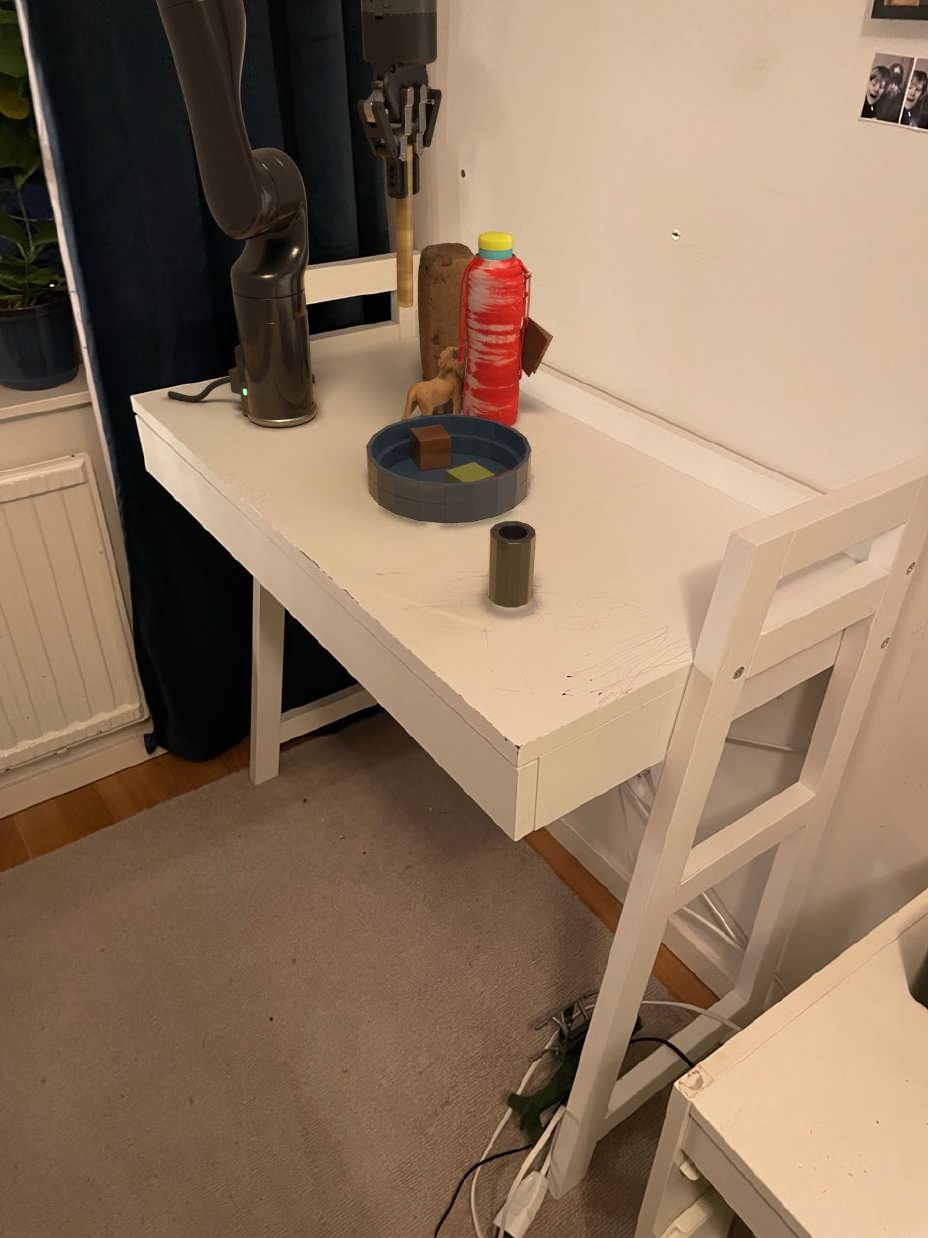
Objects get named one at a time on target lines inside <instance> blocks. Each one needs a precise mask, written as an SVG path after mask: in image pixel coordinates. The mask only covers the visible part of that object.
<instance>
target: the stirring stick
mask: <svg viewBox="0 0 928 1238" xmlns="http://www.w3.org/2000/svg"><path fill="white" fill-rule="evenodd" d="M405 161H407V165H408V196H407V197H406V198H404V199H396V198H394V199H395V251H396V253H395V256H396V257H395V258H396V261H395V263H396V264H395V265H396V266H395V267H396V305H397V307H399V308H402V309H403V308H404V309H405V308H412V307H413V306H414V200H413V199H414V195H413V146H412V145H411V144H407V158H406V160H405Z"/></svg>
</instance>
